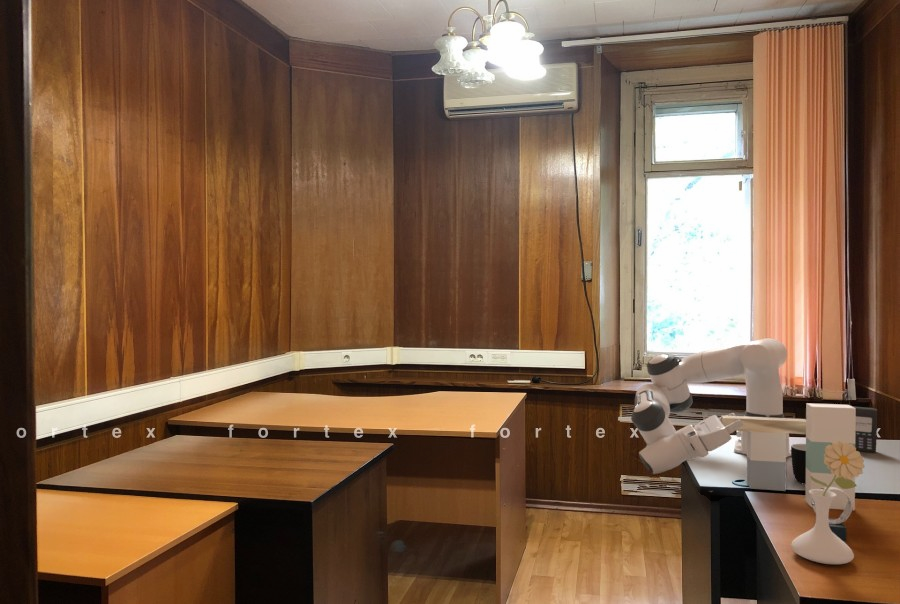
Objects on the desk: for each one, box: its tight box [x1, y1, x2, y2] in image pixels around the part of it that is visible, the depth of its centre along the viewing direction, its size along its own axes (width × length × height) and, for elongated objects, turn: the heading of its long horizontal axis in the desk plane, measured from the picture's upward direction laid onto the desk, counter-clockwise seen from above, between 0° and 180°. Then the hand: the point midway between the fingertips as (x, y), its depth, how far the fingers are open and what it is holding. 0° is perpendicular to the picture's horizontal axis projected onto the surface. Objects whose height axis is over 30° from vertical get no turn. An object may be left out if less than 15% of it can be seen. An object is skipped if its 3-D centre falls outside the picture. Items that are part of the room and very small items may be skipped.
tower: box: [805, 402, 856, 511], centre depth 167 cm, size 5×10×26 cm, turn 75°
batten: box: [720, 415, 806, 435], centre depth 182 cm, size 4×22×4 cm, turn 75°
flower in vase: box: [790, 440, 865, 565], centre depth 134 cm, size 13×11×25 cm
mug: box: [790, 443, 806, 485], centre depth 189 cm, size 12×9×10 cm
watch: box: [811, 487, 854, 543], centre depth 147 cm, size 6×8×11 cm
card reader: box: [851, 405, 878, 454], centre depth 222 cm, size 9×4×15 cm, turn 57°
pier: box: [746, 431, 787, 492], centre depth 183 cm, size 5×9×16 cm, turn 75°
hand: (738, 418), depth 184 cm, fingers open, 8 cm apart
